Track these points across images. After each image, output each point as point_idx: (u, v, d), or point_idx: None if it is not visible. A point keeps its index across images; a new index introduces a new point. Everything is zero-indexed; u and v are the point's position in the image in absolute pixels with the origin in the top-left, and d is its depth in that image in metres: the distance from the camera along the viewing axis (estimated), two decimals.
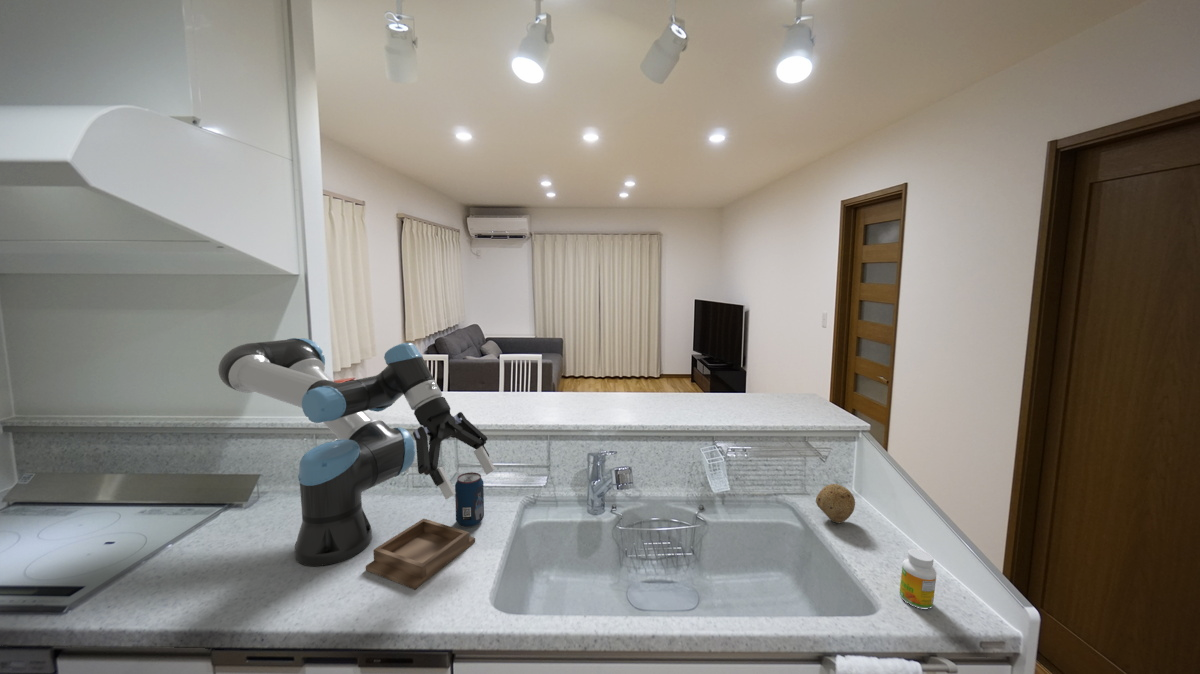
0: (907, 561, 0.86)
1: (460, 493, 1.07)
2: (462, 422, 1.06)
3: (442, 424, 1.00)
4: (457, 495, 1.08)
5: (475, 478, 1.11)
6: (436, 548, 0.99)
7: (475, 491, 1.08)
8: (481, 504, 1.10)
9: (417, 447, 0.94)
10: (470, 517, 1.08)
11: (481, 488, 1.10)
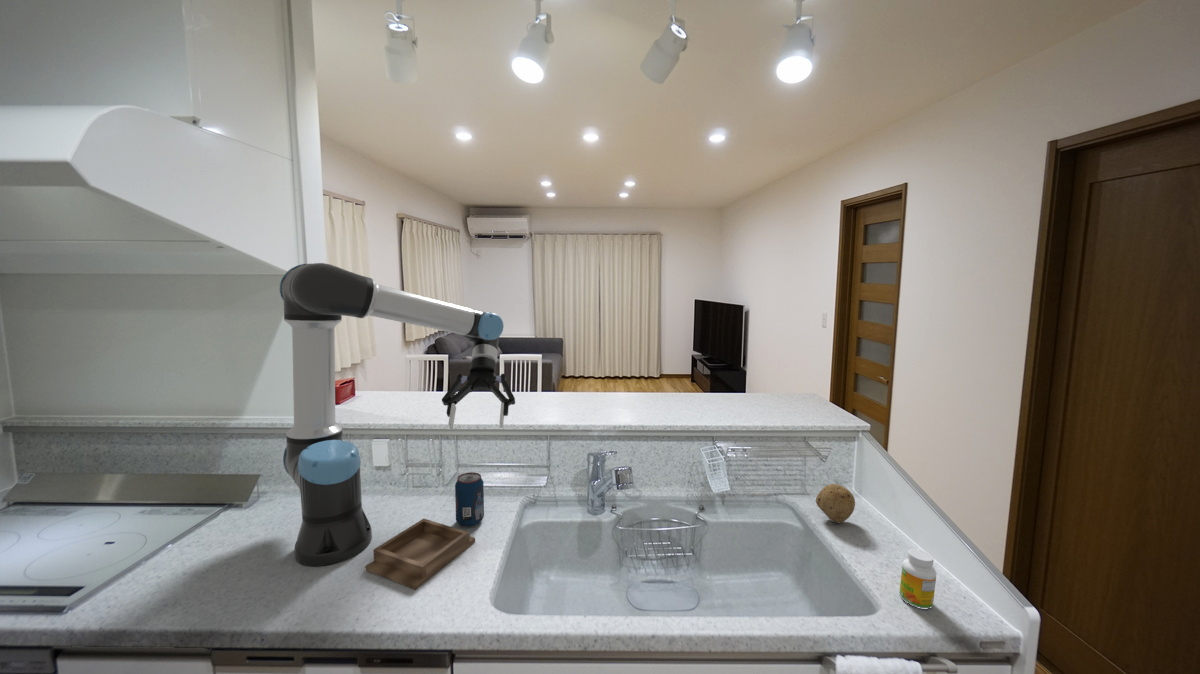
0: (907, 561, 0.86)
1: (460, 493, 1.07)
2: (461, 384, 1.28)
3: None
4: (457, 495, 1.08)
5: (475, 478, 1.11)
6: (436, 548, 0.99)
7: (475, 491, 1.08)
8: (481, 504, 1.10)
9: (507, 384, 1.28)
10: (470, 517, 1.08)
11: (481, 488, 1.10)
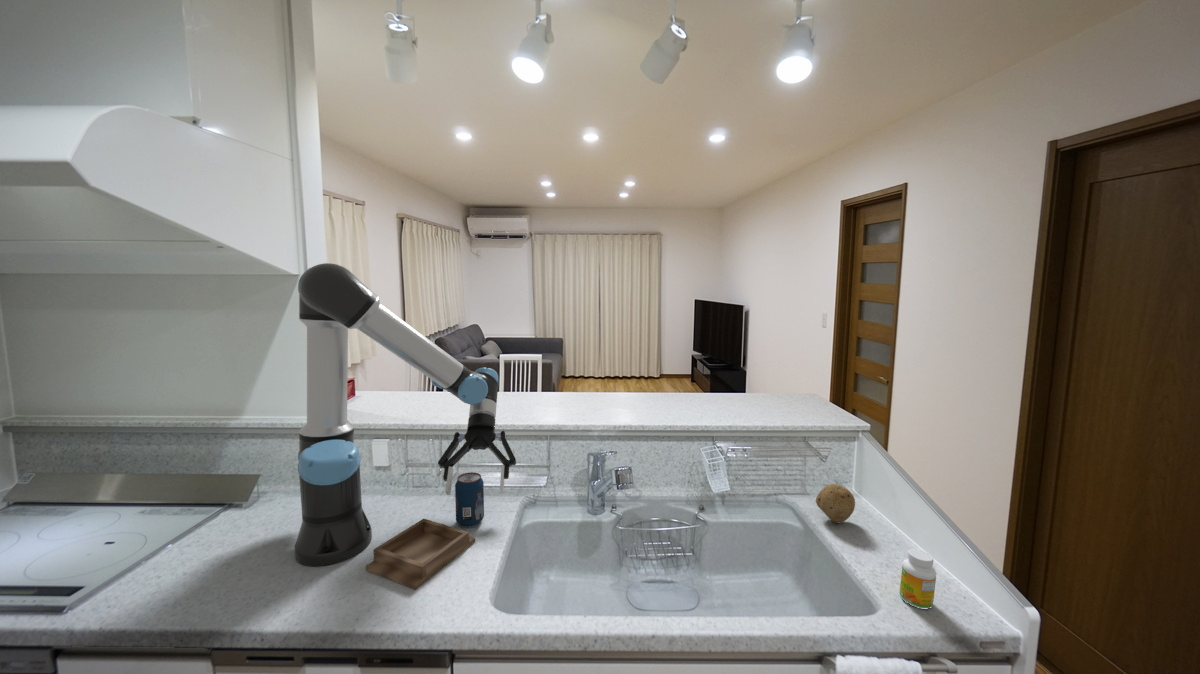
0: (907, 561, 0.86)
1: (460, 493, 1.07)
2: (458, 443, 1.21)
3: None
4: (457, 495, 1.08)
5: (475, 478, 1.11)
6: (436, 548, 0.99)
7: (475, 491, 1.08)
8: (481, 504, 1.10)
9: (507, 443, 1.21)
10: (470, 517, 1.08)
11: (481, 488, 1.10)
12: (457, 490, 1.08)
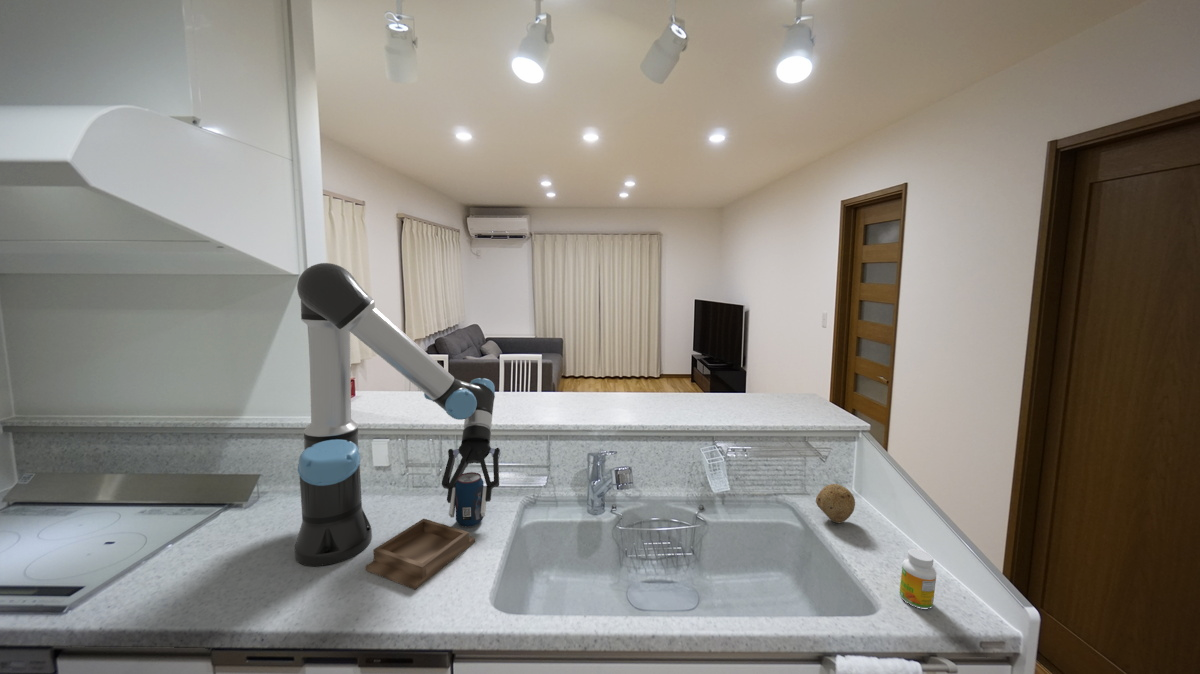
0: (907, 561, 0.86)
1: (460, 493, 1.07)
2: (454, 459, 1.17)
3: None
4: (457, 495, 1.08)
5: (475, 478, 1.11)
6: (436, 548, 0.99)
7: (475, 491, 1.08)
8: (481, 504, 1.10)
9: (497, 462, 1.16)
10: (470, 517, 1.08)
11: (481, 488, 1.10)
12: (457, 490, 1.08)
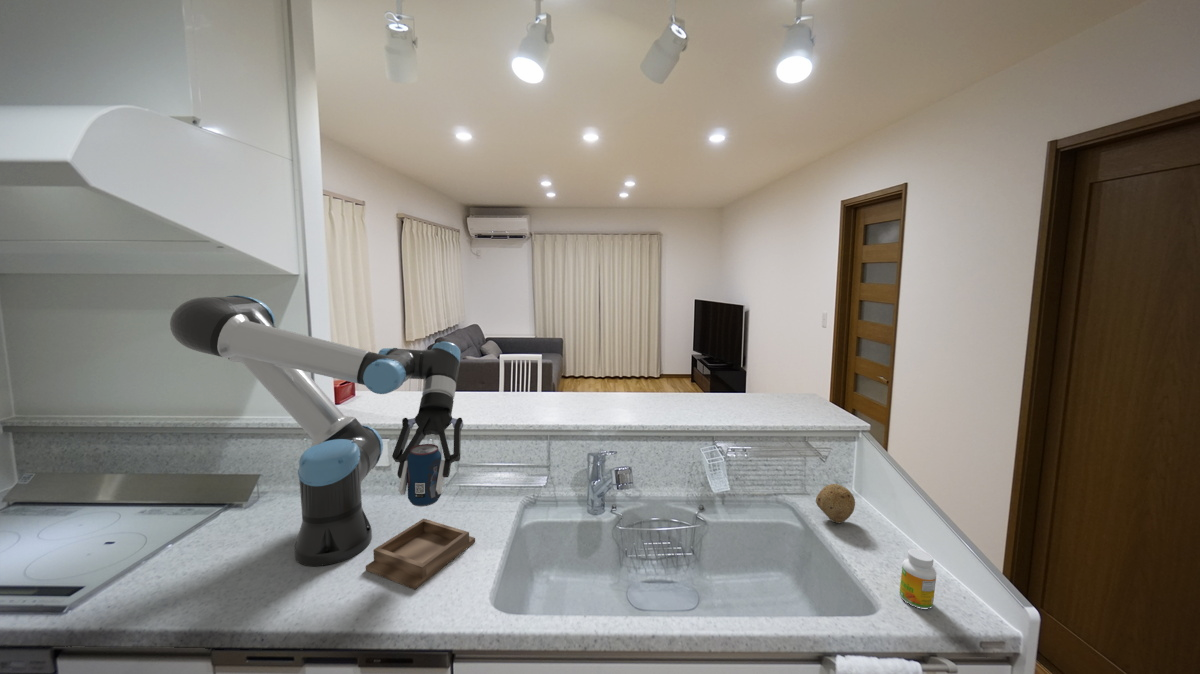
0: (907, 561, 0.86)
1: (413, 466, 0.93)
2: (409, 430, 1.02)
3: None
4: (409, 469, 0.93)
5: (431, 449, 0.96)
6: (436, 548, 0.99)
7: (430, 464, 0.93)
8: None
9: (459, 433, 1.01)
10: (424, 494, 0.93)
11: (438, 461, 0.95)
12: (409, 463, 0.93)
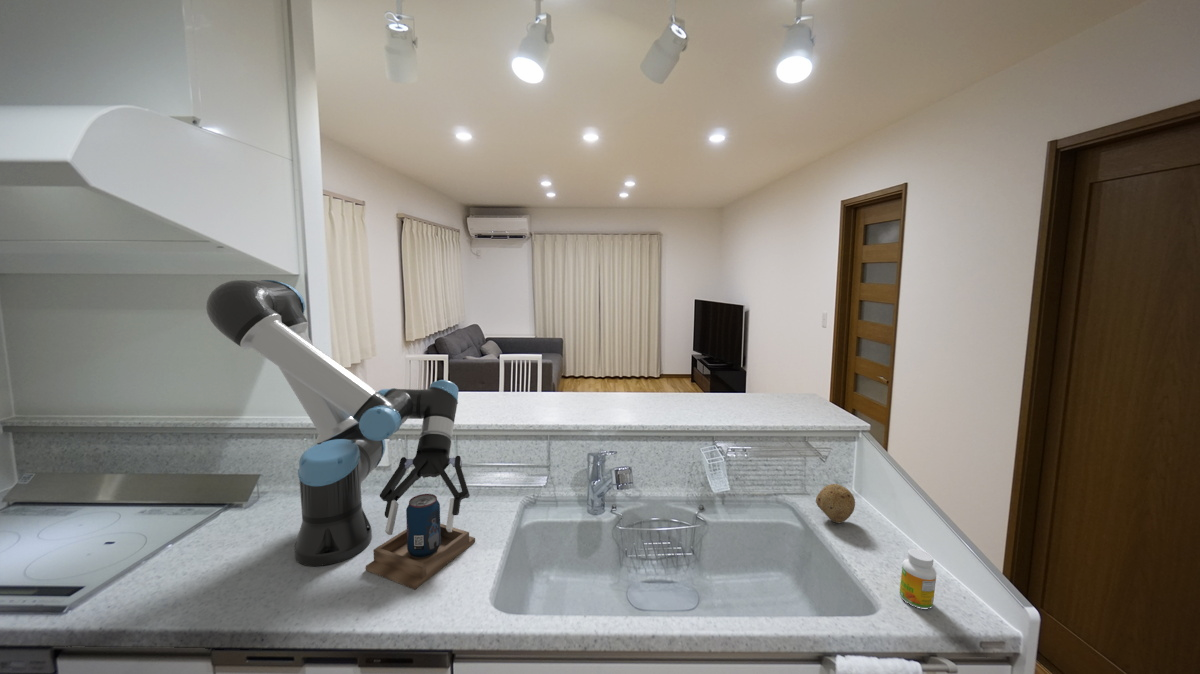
0: (907, 561, 0.86)
1: (411, 519, 0.93)
2: (405, 470, 1.03)
3: None
4: (408, 521, 0.94)
5: (430, 500, 0.96)
6: None
7: (429, 517, 0.94)
8: (437, 531, 0.96)
9: (461, 471, 1.02)
10: (423, 546, 0.94)
11: (436, 513, 0.96)
12: (408, 515, 0.94)
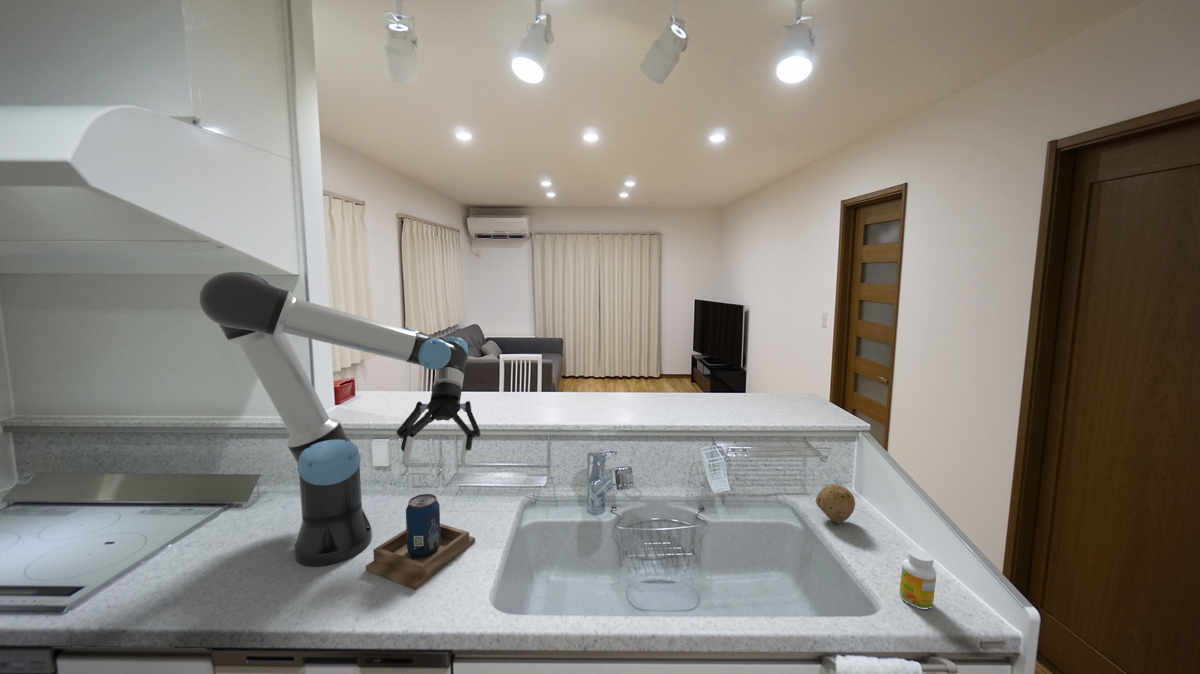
0: (907, 561, 0.86)
1: (411, 520, 0.93)
2: (420, 413, 1.14)
3: None
4: (407, 521, 0.94)
5: (429, 501, 0.96)
6: None
7: (428, 517, 0.94)
8: (436, 531, 0.96)
9: (472, 414, 1.14)
10: (422, 547, 0.94)
11: (436, 513, 0.95)
12: (407, 516, 0.94)
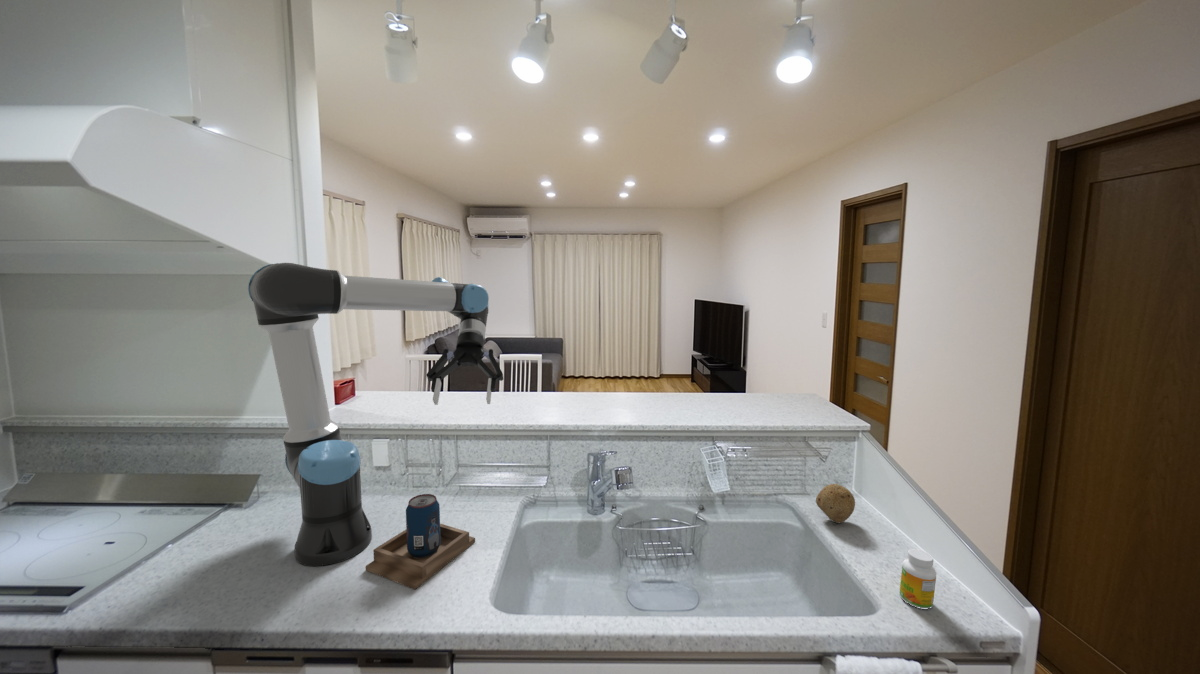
0: (907, 561, 0.86)
1: (411, 520, 0.93)
2: (447, 360, 1.23)
3: None
4: (407, 521, 0.94)
5: (429, 501, 0.96)
6: None
7: (428, 517, 0.94)
8: (436, 531, 0.96)
9: (495, 360, 1.23)
10: (422, 547, 0.94)
11: (436, 513, 0.95)
12: (407, 516, 0.94)
